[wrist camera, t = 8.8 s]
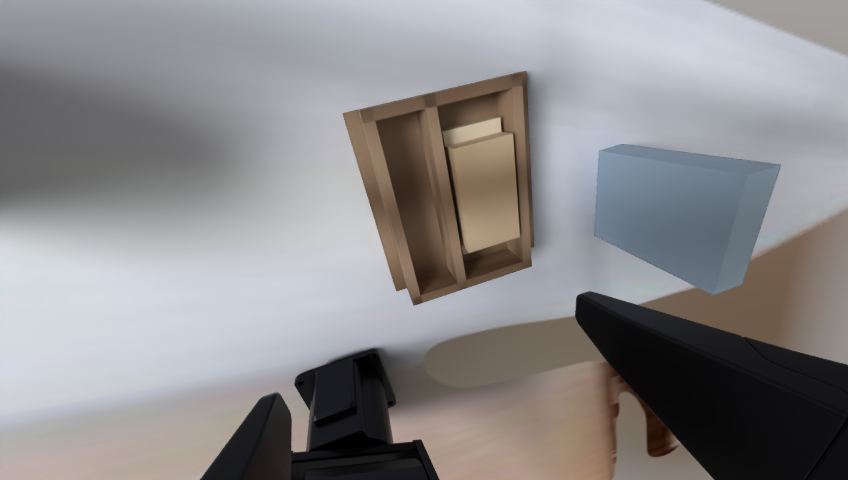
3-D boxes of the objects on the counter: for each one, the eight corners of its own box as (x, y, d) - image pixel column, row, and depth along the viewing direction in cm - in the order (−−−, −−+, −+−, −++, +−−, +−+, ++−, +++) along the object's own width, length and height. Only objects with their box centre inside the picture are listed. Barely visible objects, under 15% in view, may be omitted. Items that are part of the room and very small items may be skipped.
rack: (529, 243, 24) (552, 259, 21) (394, 286, 22) (402, 309, 20) (520, 71, 18) (549, 66, 16) (342, 113, 17) (343, 114, 14)
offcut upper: (509, 229, 20) (520, 237, 19) (461, 244, 20) (469, 253, 19) (501, 131, 17) (512, 133, 16) (445, 146, 17) (452, 149, 16)
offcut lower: (501, 232, 22) (510, 240, 21) (456, 247, 21) (463, 255, 20) (490, 116, 18) (500, 117, 17) (435, 130, 18) (442, 131, 17)
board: (614, 228, 25) (741, 284, 17) (594, 235, 25) (713, 295, 17) (622, 144, 22) (781, 164, 14) (599, 150, 22) (747, 175, 14)
